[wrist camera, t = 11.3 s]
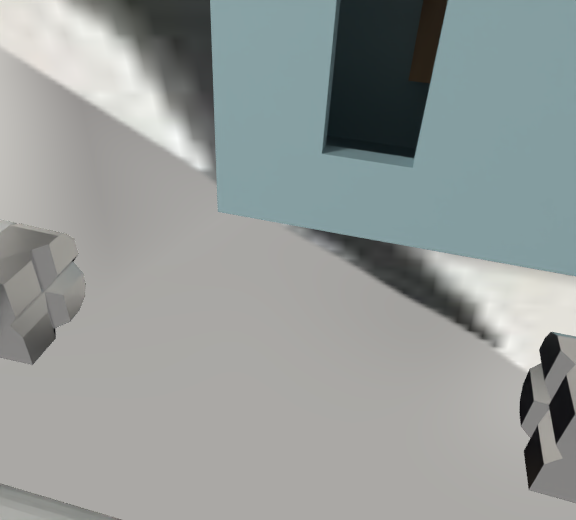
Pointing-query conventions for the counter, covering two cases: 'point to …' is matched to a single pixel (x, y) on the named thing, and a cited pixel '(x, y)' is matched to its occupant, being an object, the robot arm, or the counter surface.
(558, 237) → the box
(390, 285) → the counter surface
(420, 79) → the brown rectangular block
